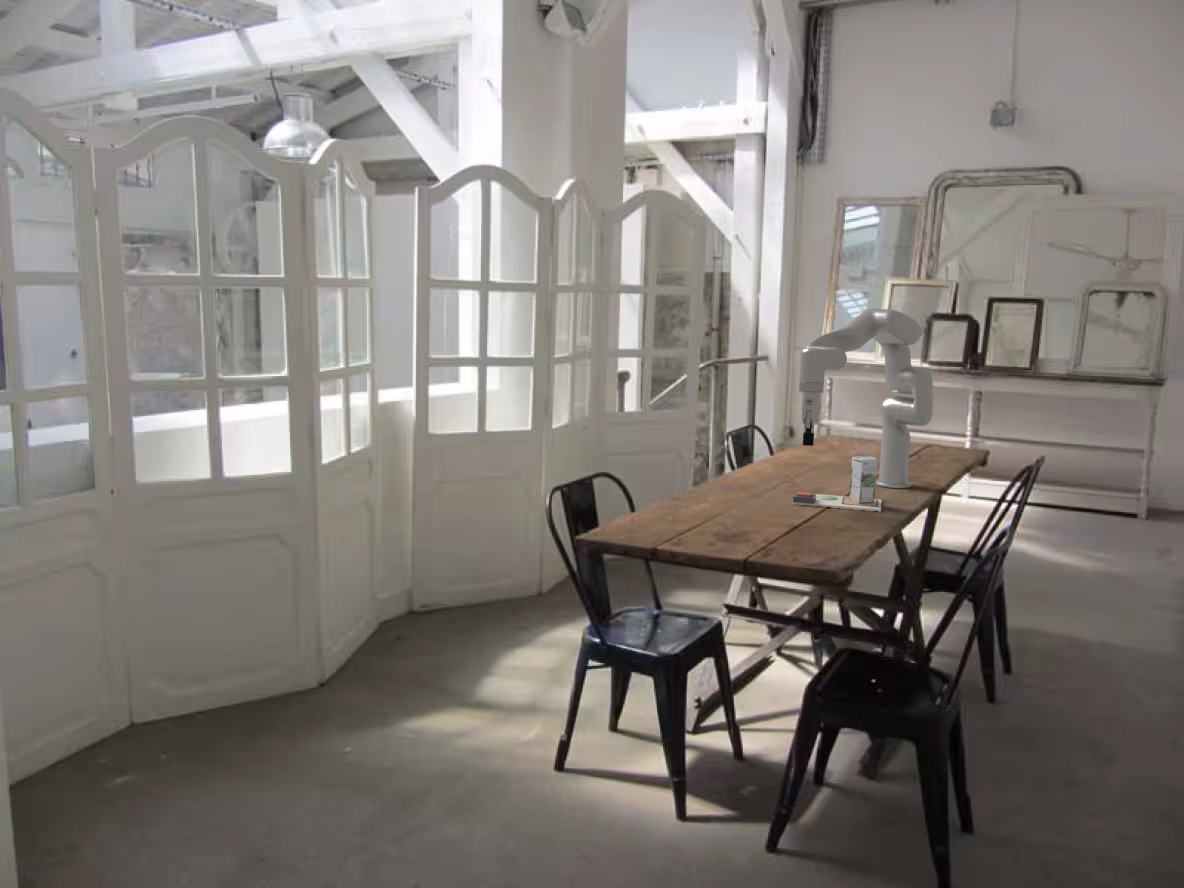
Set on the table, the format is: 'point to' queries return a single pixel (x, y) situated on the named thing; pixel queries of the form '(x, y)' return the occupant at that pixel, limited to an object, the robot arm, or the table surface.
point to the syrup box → (863, 479)
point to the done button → (805, 494)
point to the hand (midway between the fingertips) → (808, 445)
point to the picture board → (836, 502)
